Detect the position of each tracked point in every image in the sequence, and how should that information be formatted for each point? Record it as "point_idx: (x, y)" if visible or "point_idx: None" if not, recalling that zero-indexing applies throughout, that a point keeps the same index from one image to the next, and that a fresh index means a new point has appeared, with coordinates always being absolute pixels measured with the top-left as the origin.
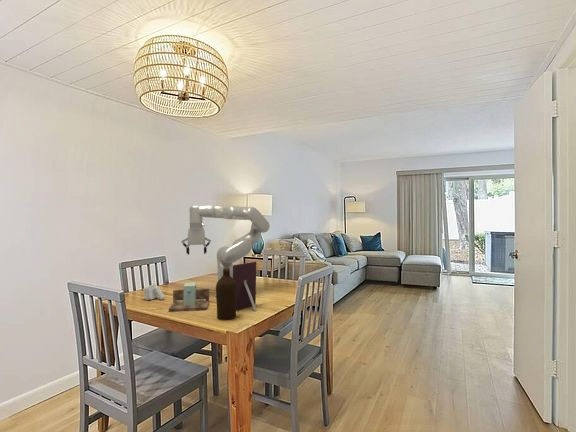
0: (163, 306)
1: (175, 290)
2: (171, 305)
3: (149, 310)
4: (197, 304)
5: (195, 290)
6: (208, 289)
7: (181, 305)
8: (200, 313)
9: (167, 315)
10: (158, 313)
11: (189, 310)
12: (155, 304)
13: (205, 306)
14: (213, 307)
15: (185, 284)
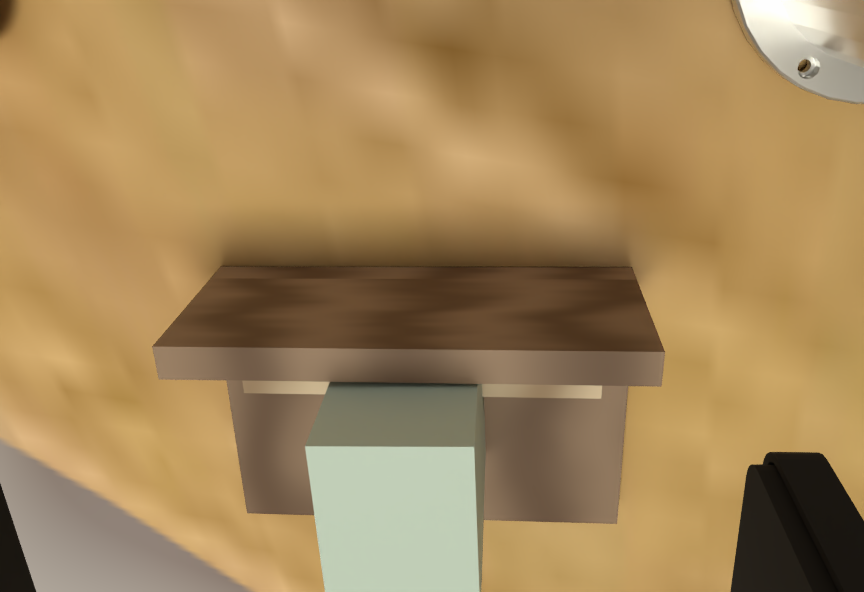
0: (132, 313)
1: (190, 378)
2: (233, 404)
3: (53, 422)
4: (508, 416)
5: (480, 487)
6: (655, 383)
7: None
8: (557, 581)
9: (278, 578)
10: (179, 517)
11: None
12: (6, 220)
13: (600, 497)
14: (680, 437)
15: (326, 518)
